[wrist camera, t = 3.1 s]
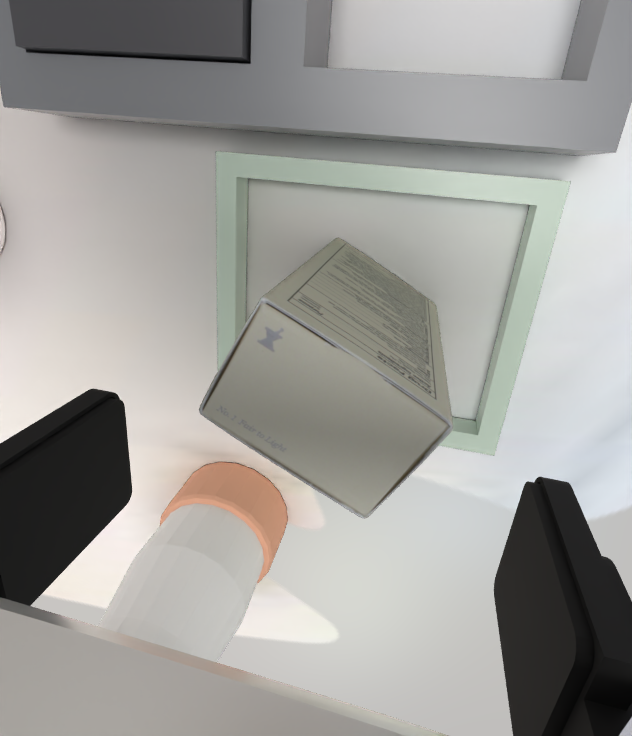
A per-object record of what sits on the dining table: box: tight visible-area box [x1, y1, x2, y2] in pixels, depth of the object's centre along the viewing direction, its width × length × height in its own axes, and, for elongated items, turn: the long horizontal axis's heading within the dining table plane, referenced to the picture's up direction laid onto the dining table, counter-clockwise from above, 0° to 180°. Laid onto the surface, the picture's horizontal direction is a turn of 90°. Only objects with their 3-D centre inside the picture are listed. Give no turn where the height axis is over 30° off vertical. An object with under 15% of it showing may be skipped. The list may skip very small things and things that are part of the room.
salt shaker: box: [98, 462, 288, 663], centre depth 22 cm, size 7×7×19 cm
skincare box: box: [199, 238, 453, 518], centre depth 18 cm, size 6×4×12 cm
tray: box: [216, 151, 571, 456], centre depth 23 cm, size 13×15×2 cm
